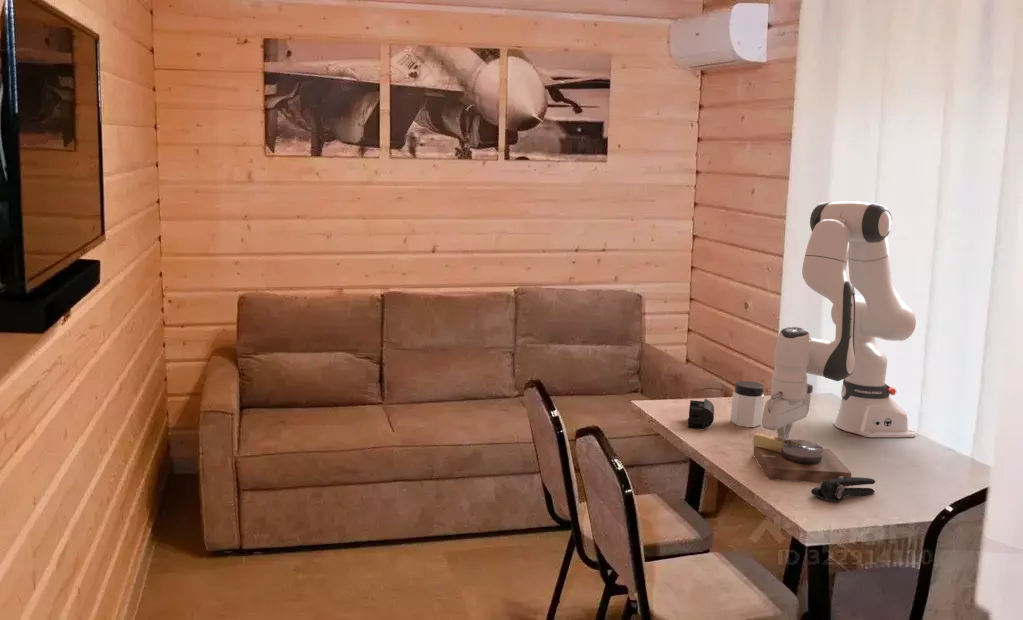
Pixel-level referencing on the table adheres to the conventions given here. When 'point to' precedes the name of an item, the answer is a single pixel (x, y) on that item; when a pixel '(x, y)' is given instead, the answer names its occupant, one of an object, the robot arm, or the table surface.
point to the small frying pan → (790, 448)
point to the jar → (747, 404)
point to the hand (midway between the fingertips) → (783, 439)
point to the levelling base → (800, 467)
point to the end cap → (700, 414)
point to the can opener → (842, 488)
